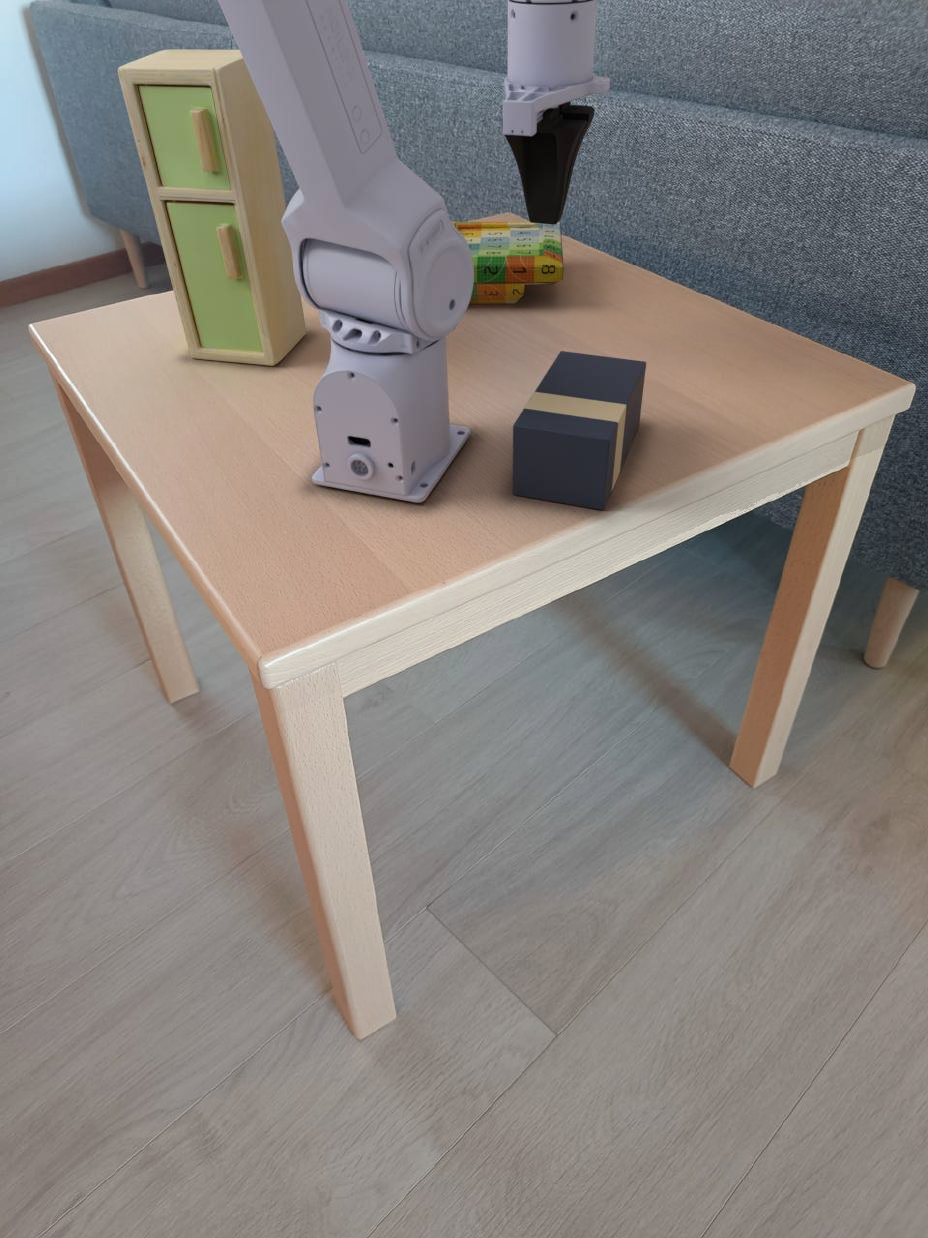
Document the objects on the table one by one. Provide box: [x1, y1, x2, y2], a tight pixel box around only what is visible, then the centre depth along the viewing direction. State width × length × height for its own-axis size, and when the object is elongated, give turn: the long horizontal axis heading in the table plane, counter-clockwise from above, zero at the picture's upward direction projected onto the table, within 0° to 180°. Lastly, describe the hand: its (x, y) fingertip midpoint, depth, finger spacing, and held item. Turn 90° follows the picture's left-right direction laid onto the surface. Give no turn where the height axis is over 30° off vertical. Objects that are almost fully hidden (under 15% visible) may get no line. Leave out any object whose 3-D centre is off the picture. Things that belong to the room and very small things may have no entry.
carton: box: [511, 350, 647, 511], centre depth 59 cm, size 5×6×11 cm
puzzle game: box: [451, 221, 564, 304], centre depth 83 cm, size 12×5×20 cm
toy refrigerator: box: [117, 48, 307, 367], centre depth 68 cm, size 8×7×21 cm
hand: (545, 220), depth 66 cm, fingers closed
